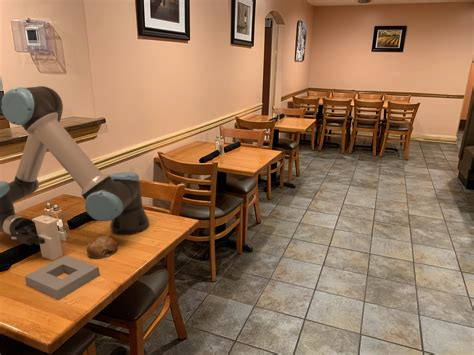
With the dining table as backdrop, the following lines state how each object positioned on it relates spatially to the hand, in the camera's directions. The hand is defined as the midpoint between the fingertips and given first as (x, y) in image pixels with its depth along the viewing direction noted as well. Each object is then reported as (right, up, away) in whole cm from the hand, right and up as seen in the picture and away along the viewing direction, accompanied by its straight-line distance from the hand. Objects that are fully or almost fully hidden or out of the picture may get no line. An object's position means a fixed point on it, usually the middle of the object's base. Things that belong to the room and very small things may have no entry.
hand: (58, 239), depth 120 cm
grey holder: (+7, -11, -10) cm, 16 cm away
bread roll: (+12, -6, +6) cm, 15 cm away
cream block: (-4, -7, +5) cm, 9 cm away
